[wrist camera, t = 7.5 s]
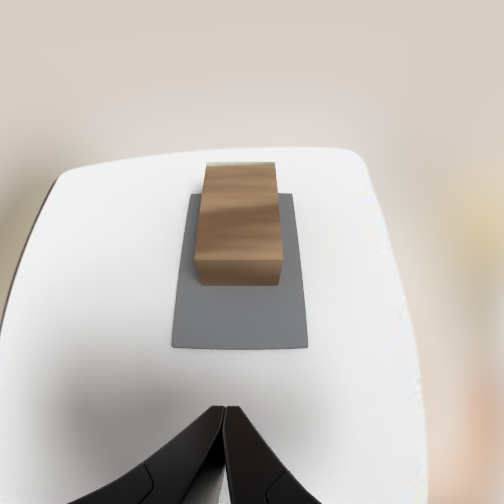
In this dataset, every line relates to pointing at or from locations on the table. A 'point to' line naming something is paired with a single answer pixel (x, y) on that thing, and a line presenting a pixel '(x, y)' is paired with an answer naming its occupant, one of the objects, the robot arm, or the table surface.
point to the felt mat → (241, 299)
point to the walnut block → (239, 226)
